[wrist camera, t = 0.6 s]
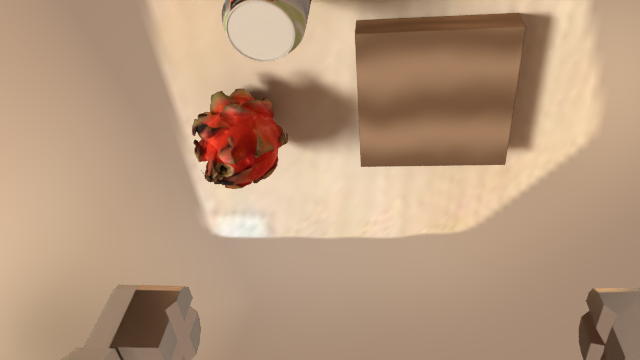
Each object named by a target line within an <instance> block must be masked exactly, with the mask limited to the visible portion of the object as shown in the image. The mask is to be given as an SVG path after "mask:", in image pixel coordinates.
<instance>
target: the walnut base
mask: <svg viewBox="0 0 640 360" xmlns="http://www.w3.org/2000/svg"><path fill="white" fill-rule="evenodd" d="M525 28H526V27H525V25H524V23H523V21H522V19H521V17H520V15H519V13H508V14H486V15H465V16H443V17H421V18H399V19H377V20H356V29H355V45H356V67H357V89H358V111H359V133H360V155H361V167H376V166H449V165H505V162H506V155H507V149H508V142H509V135H510V128H511V122H512V115H513V108H514V102H515V95H516V88H517V82H518V75H519V68H520V61H521V55H522V48H523V41H524V35H525Z"/></svg>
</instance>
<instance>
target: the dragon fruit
mask: <svg viewBox="0 0 640 360" xmlns="http://www.w3.org/2000/svg"><path fill="white" fill-rule="evenodd" d="M273 116H274V112H273V107H272V103H271V102H270V101H269V100H268V99H267V98H263V99H262V101H260V100H257V99H255V100H254V98H253V96H252V95H250V94H249V93H248V92H247V91H246V90H245V89H236V90H235V91H234V92H233V93H232V94H231V95H230V96H227V95H225V94H224V93H223V92H222V91H220V92H217V93H215V94H213V95H212V96H211V104H210V112H205V113H202V114H199V115H198V120H197V119H195V120H194V123H193V126H192V133H193V135H194V136H195V134H196V131H197V133H198V134H199V136H200V137H201V138H202V139H201V140H200V141H199V142H198V141H197V140H194V144H195V145H196V147H195V155H196V157H197V159H198V161H199V162H201V161H208V163H207V165H206V171H205V179H206V180H207V181H208V182H214V184H222V185H225V188H232V189H237V188H243V187H244V186H246V185H249V184H251V183H252V181H253V183H258V182H259V181H260V180H262V179H265V178H267V177H268V176H270V175H271V174H272V173H273V171H274V170H275V169H276V167H277V162H278V155H277V154H278V148H279V147H281V146H282V145H284V144H286V143H287V142H288V134H286V135H287V138H286V137H285V135H284V133H283V130H282V128H281V127H280V126H278V125H277V124H276V123H275V122H274V120H273ZM200 171H201V170H200ZM202 173H203V172H202Z"/></svg>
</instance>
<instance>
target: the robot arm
mask: <svg viewBox="0 0 640 360" xmlns="http://www.w3.org/2000/svg"><path fill="white" fill-rule="evenodd" d="M192 298H193V297H192V295H191V292H190V290H189V287H185V286H158V285H118V286H117V287H116V288H114V289H113V291H112V292H111V294H110V296H109V298H108V300H107V302H106V304H105V306H104V308H103V310H102V312H101V314H100V316H99V318H98V320H97V322H96V324H95V326H94V328H93V330H92V332H91V333H90V335H89V337H88V339H87V341H86V344H85V345H84V347H83V348H76V349H74V350H73V351H72V352H71V353H69V354H68V355H67V356H65V357H64V358H63V359H61V360H191V359H192V358H193V357H194V356H195V355H196V353H197V350H198V346H199V342H200V332H201V327H200V319H199V315H198V313H197V311H196V310H195V309H193V308H192V307H191V306H190V304H191V301H192ZM586 302H587V305H588V308H589V311H588V312H587V313H585V314H584V315H583V316H582V317H581V320H580V325H579V345H580V350H581V354H582V357H583V360H640V288H593V289H592V290H591V291H590V292H589V294H588V297H587V300H586Z"/></svg>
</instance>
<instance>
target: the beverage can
mask: <svg viewBox="0 0 640 360" xmlns="http://www.w3.org/2000/svg"><path fill="white" fill-rule="evenodd" d="M310 4H311V0H225V2H224V5H223V10H222V22H223V26H224V29H225V31H226V34H227V37H228V39H229V41H230V43H231V44H232V46H233V47H234V48H235V49H236V50H237V51H238V52H239V53H240V54H241V55H243V56H245V57H246V58H249V59H251V60H254V61H259V62H271V61H275V60H278V59H281V58H282V57H284V56H285V55H286V54H288V53H290V52H291V51H292V50H294V49H295V48H296V47H297V46H298V44H299V43H300V42H301V40H302V38H303V36H304V33H305V29H306V24H307V19H308V14H309V9H310Z"/></svg>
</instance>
